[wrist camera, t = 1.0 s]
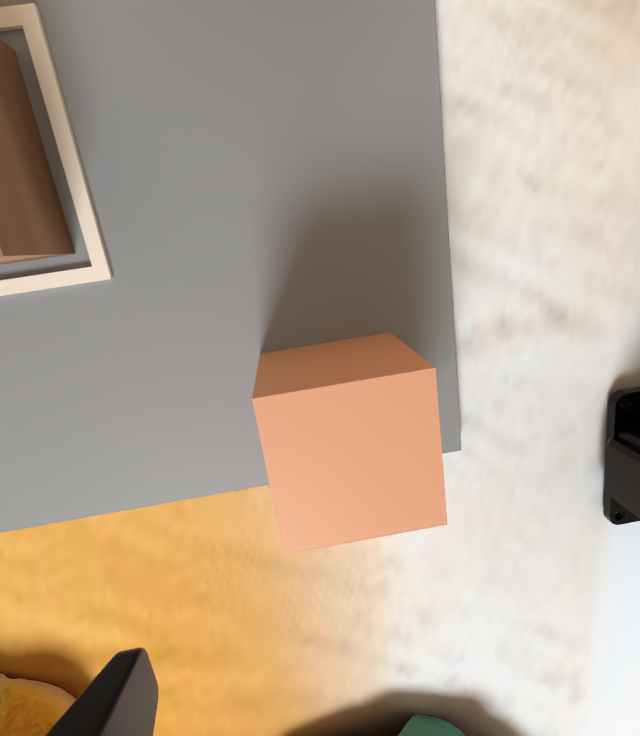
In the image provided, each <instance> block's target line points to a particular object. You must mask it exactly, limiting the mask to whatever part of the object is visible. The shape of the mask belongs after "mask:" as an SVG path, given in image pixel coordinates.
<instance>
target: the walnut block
mask: <svg viewBox="0 0 640 736" xmlns="http://www.w3.org/2000/svg"><path fill="white" fill-rule="evenodd" d="M70 254H75V250H74V247H73V244H72V240H71V237H70V234H69V230H68V227H67V223H66V220H65V217H64V213H63V210H62V207H61V203H60V200H59V197H58V193H57V190H56V187H55V183H54V180H53V176H52V173H51V170H50V166H49V163H48V160H47V156H46V153H45V150H44V146H43V143H42V140H41V136H40V133H39V129H38V126H37V123H36V119H35V116H34V113H33V109H32V106H31V103H30V99H29V96H28V93H27V89H26V86H25V82H24V79H23V76H22V72H21V69H20V66H19V62H18V59H17V56H16V52H15V50H14V49H13V48H11V47H10V46H9V45H7V44H6V43H5V42H3V41H2V40H1V39H0V265H3V264H10V263H17V262H23V261H30V260H36V259H43V258H50V257H56V256H63V255H70Z"/></svg>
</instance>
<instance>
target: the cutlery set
mask: <svg viewBox="0 0 640 736" xmlns="http://www.w3.org/2000/svg"><path fill="white" fill-rule="evenodd" d="M398 736H465V735H464V734H463V733H462V731H461V730H459V729H458V728H456V727H455V726H453V725H452V724H450V723H449V722H447V721H445V720H442V719H440V718H437V717H435V716H427V715H419V714H415V715H414V716H413V717H411V719H410V720H409V721H408V723H407V724H406V725H405V727H404V728H403V729H402V731H401V732H400V734H399V735H398Z"/></svg>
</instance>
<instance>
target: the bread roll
mask: <svg viewBox="0 0 640 736" xmlns="http://www.w3.org/2000/svg"><path fill="white" fill-rule="evenodd" d="M75 700H76V698H74V697H73V696H72V695H71V694H69V693H68V692H67V691H65V690H63V689H62V688H60V687H57V686H54V685H51V684H48V683H45V682H41V681H36V680H26V679H21V678H18V679H10V678H7V677H6V676H5V675H3V674H1V673H0V736H45V734H46V733H47V732H48V731H49V730H50V729H51V728H52V726H53V725H54V724H55V723H56V722H57V721H58V720H59V718H60V717H61V716H62V715H63V714H64V713H65V712H66V710H67V709H68V708H69V707H70V706H71V705H72V704H73V702H74V701H75Z"/></svg>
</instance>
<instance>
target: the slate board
mask: <svg viewBox="0 0 640 736" xmlns="http://www.w3.org/2000/svg"><path fill="white" fill-rule="evenodd" d="M0 39H1V40H2V41H3V42H5V43H6V44H7V45H9V46H10V47H11V48H13V49H14V50H15V52H16V56H17V59H18V62H19V66H20V69H21V72H22V76H23V79H24V82H25V86H26V89H27V93H28V96H29V99H30V103H31V106H32V109H33V113H34V116H35V119H36V123H37V126H38V129H39V133H40V136H41V140H42V143H43V146H44V150H45V153H46V156H47V160H48V163H49V166H50V170H51V173H52V176H53V180H54V183H55V187H56V190H57V193H58V197H59V200H60V203H61V207H62V210H63V213H64V217H65V220H66V223H67V227H68V230H69V234H70V237H71V240H72V244H73V247H74V250H75V254H70V255H63V256H56V257H50V258H43V259H36V260H30V261H23V262H17V263H10V264H3V265H0V533H1V532H7V531H13V530H18V529H24V528H29V527H35V526H41V525H46V524H52V523H57V522H63V521H68V520H74V519H80V518H85V517H91V516H96V515H102V514H108V513H113V512H119V511H124V510H130V509H135V508H141V507H147V506H152V505H158V504H163V503H169V502H175V501H180V500H186V499H191V498H197V497H202V496H208V495H214V494H219V493H225V492H230V491H236V490H241V489H247V488H253V487H258V486H264V485H269V480H268V475H267V470H266V465H265V460H264V455H263V451H262V446H261V441H260V436H259V431H258V426H257V421H256V416H255V411H254V407H253V402H252V396H253V390H254V384H255V379H256V373H257V368H258V362H259V357H260V354H262V353H268V352H274V351H280V350H286V349H292V348H298V347H304V346H310V345H316V344H323V343H329V342H335V341H341V340H347V339H353V338H359V337H365V336H371V335H377V334H383V333H389V332H390V333H391V334H393V335H394V336H395V337H397V338H398V339H399V340H401V341H402V342H403V343H404V344H406V345H407V346H408V347H410V348H411V349H412V350H413V351H415V352H416V353H417V354H419V355H420V356H421V357H422V358H424V359H425V360H426V361H428V362H429V363H430V364H432V365H433V366H434V367H435V368H436V379H437V393H438V406H439V420H440V434H441V447H442V453H448V452H454V451H459V450H461V436H460V420H459V403H458V386H457V369H456V352H455V336H454V319H453V302H452V285H451V269H450V252H449V235H448V218H447V201H446V185H445V168H444V151H443V134H442V118H441V101H440V84H439V67H438V50H437V34H436V17H435V0H0Z"/></svg>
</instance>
